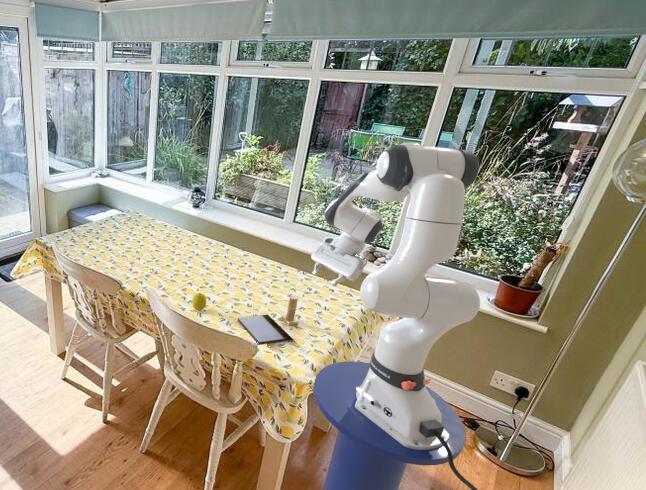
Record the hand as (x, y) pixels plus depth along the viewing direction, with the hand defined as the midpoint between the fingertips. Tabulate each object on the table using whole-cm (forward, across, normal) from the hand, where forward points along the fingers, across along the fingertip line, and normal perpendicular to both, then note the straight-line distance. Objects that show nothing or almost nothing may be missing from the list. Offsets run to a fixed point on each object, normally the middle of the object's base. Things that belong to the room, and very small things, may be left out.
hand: (323, 279), depth 150 cm
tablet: (+26, +2, +3) cm, 26 cm away
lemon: (+38, +22, +20) cm, 48 cm away
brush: (+21, +2, -2) cm, 21 cm away
